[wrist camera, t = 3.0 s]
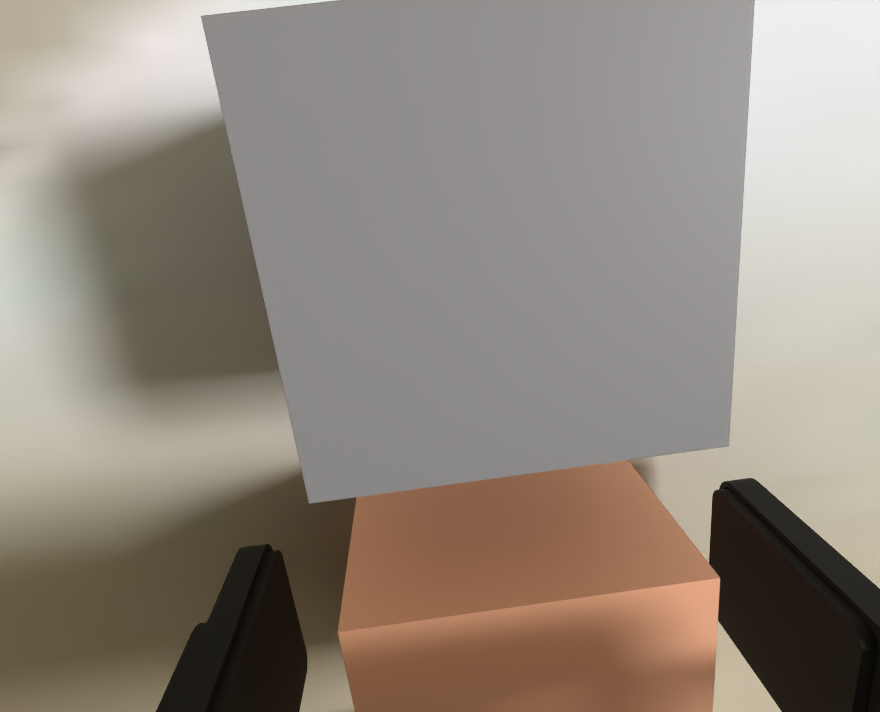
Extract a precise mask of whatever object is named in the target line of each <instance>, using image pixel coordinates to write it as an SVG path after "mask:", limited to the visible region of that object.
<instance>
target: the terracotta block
mask: <svg viewBox="0 0 880 712" xmlns="http://www.w3.org/2000/svg"><path fill="white" fill-rule="evenodd" d="M719 591H720V577H719V576H718V574H717V573H716V572H715V571H714V569H713V568H712V567H711V566H710V564H709V563H708V562H707V560H706V559H705V558H704V557H703V555H702V554H701V553H700V551H699V550H698V549H697V548H696V546H695V545H694V544H693V543H692V541H691V540H690V539H689V537H688V536H687V535H686V534H685V532H684V531H683V530H682V528H681V527H680V526H679V525H678V523H677V522H676V521H675V520H674V518H673V517H672V516H671V514H670V513H669V512H668V511H667V509H666V508H665V507H664V505H663V504H662V503H661V502H660V500H659V499H658V498H657V497H656V495H655V494H654V493H653V491H652V490H651V489H650V488H649V486H648V485H647V484H646V483H645V481H644V480H643V479H642V477H641V476H640V475H639V474H638V472H637V471H636V470H635V468H634V467H633V466H632V465H631V463H630V462H629V461H628V460H625V461H618V462H610V463H603V464H596V465H588V466H581V467H574V468H566V469H559V470H552V471H545V472H537V473H530V474H523V475H515V476H508V477H501V478H493V479H486V480H479V481H471V482H464V483H457V484H449V485H442V486H435V487H427V488H420V489H413V490H405V491H398V492H391V493H384V494H376V495H369V496H362V497H356V504H355V512H354V519H353V526H352V533H351V540H350V547H349V555H348V562H347V569H346V576H345V583H344V591H343V598H342V605H341V612H340V619H339V626H338V636H339V641H340V645H341V650H342V654H343V659H344V663H345V668H346V672H347V677H348V681H349V686H350V690H351V695H352V699H353V704H354V708H355V712H713V695H714V678H715V660H716V643H717V626H718V608H719Z"/></svg>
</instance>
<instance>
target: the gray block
mask: <svg viewBox="0 0 880 712" xmlns="http://www.w3.org/2000/svg"><path fill="white" fill-rule="evenodd" d="M754 2H755V0H337V1H328V2H320V3H311V4H302V5H293V6H284V7H275V8H267V9H258V10H249V11H240V12H231V13H223V14H214V15H205V16H201V18H202V23H203V27H204V32H205V36H206V41H207V45H208V50H209V54H210V59H211V63H212V68H213V72H214V77H215V81H216V86H217V90H218V95H219V99H220V104H221V108H222V113H223V117H224V122H225V127H226V131H227V136H228V140H229V145H230V149H231V154H232V158H233V163H234V167H235V172H236V176H237V181H238V185H239V190H240V194H241V199H242V203H243V208H244V212H245V217H246V221H247V226H248V230H249V235H250V239H251V244H252V248H253V253H254V257H255V262H256V266H257V271H258V275H259V280H260V285H261V289H262V294H263V298H264V303H265V307H266V312H267V316H268V321H269V325H270V330H271V334H272V339H273V343H274V348H275V352H276V357H277V361H278V366H279V370H280V375H281V379H282V384H283V388H284V393H285V397H286V402H287V406H288V411H289V415H290V420H291V424H292V429H293V433H294V438H295V443H296V447H297V452H298V456H299V461H300V465H301V470H302V474H303V479H304V483H305V488H306V492H307V497H308V501H309V504H310V503H318V502H325V501H332V500H340V499H347V498H354V497H362V496H369V495H376V494H384V493H391V492H398V491H405V490H413V489H420V488H427V487H435V486H442V485H449V484H457V483H464V482H471V481H479V480H486V479H493V478H501V477H508V476H515V475H523V474H530V473H537V472H545V471H552V470H559V469H566V468H574V467H581V466H588V465H596V464H603V463H610V462H618V461H625V460H632V459H640V458H647V457H654V456H662V455H669V454H676V453H684V452H691V451H698V450H705V449H713V448H720V447H727V446H729V435H730V418H731V401H732V383H733V366H734V349H735V331H736V314H737V297H738V279H739V262H740V245H741V227H742V210H743V193H744V175H745V158H746V141H747V123H748V106H749V89H750V71H751V54H752V37H753V19H754Z"/></svg>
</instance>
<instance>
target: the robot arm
mask: <svg viewBox="0 0 880 712" xmlns="http://www.w3.org/2000/svg"><path fill="white" fill-rule="evenodd" d="M709 564H710V566H711V567H712V568H713V569H714V571H715V572H716V573H717V574H718V576H719V577H720V591H719V608H718V621H719V622H720V624H721V625H722V626H723V628H724V629H725V631H726V632H727V634H728V635H729V637H730V638H731V639H732V641H733V642H734V644H735V645H736V647H737V648H738V649H739V651H740V652H741V654H742V655H743V657H744V658H745V659H746V661H747V662H748V664H749V665H750V667H751V668H752V669H753V671H754V672H755V674H756V675H757V677H758V678H759V679H760V681H761V682H762V684H763V685H764V687H765V688H766V689H767V691H768V692H769V694H770V695H771V697H772V698H773V699H774V701H775V702H776V704H777V705H778V707H779V708H780V709H781V711H782V712H880V589H879V588H878V587H877V586H876V585H875V584H874V583H872V582H871V581H870V580H869V579H868V578H867V577H866V576H864V575H863V574H862V573H861V572H860V571H859V570H858V569H857V568H855V567H854V566H853V565H852V564H851V563H850V562H849V561H847V560H846V559H845V558H844V557H843V556H842V555H841V554H839V553H838V552H837V551H836V550H835V549H834V548H833V547H832V546H830V545H829V544H828V543H827V542H826V541H825V540H824V539H822V538H821V537H820V536H819V535H818V534H817V533H816V532H814V531H813V530H812V529H811V528H810V527H809V526H808V525H807V524H805V523H804V522H803V521H802V520H801V519H800V518H799V517H797V516H796V515H795V514H794V513H793V512H792V511H791V510H790V509H788V508H787V507H786V506H785V505H784V504H783V503H782V502H780V501H779V500H778V499H777V498H776V497H775V496H774V495H772V494H771V493H770V492H769V491H768V490H767V489H766V488H765V487H763V486H762V485H761V484H760V483H759V482H758V481H756V480H755V479H752V478H747V479H740V480H733V481H725V482H723V483H722V484H721V486H720V489H719V490H716V491H714V493H713V498H712V517H711V537H710V556H709ZM306 673H307V652H306V648H305V644H304V640H303V636H302V632H301V628H300V624H299V620H298V616H297V612H296V608H295V604H294V600H293V596H292V592H291V588H290V584H289V580H288V576H287V572H286V568H285V564H284V560H283V556H282V553H281V551H280V550H276V551H273V550H272V547H271V546H270V545H269V544H265V545H258V546H250V547H243V548H240V549H239V550H238V552H237V554H236V557H235V559H234V561H233V563H232V566H231V568H230V570H229V573H228V575H227V577H226V580H225V582H224V584H223V587H222V589H221V591H220V594H219V596H218V598H217V601H216V603H215V605H214V608H213V610H212V612H211V615H210V617H209V619H208V622H206V623H200V624H198V625H197V626H196V627H195V629H194V630H193V632H192V634H191V636H190V638H189V640H188V642H187V644H186V647H185V649H184V651H183V653H182V655H181V658H180V660H179V662H178V664H177V666H176V669H175V671H174V673H173V675H172V677H171V680H170V682H169V684H168V686H167V689H166V691H165V693H164V695H163V697H162V700H161V702H160V704H159V706H158V708H157V711H156V712H299V710H300V705H301V699H302V694H303V689H304V683H305V678H306Z"/></svg>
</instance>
